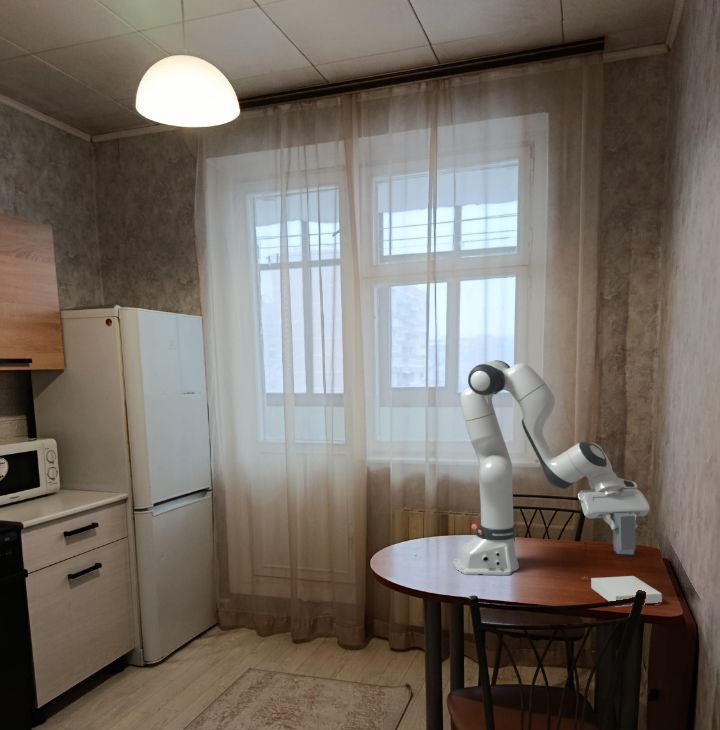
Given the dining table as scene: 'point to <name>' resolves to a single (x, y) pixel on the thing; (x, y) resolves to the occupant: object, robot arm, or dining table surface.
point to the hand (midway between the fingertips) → (625, 528)
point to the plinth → (624, 589)
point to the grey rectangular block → (624, 531)
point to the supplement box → (623, 552)
